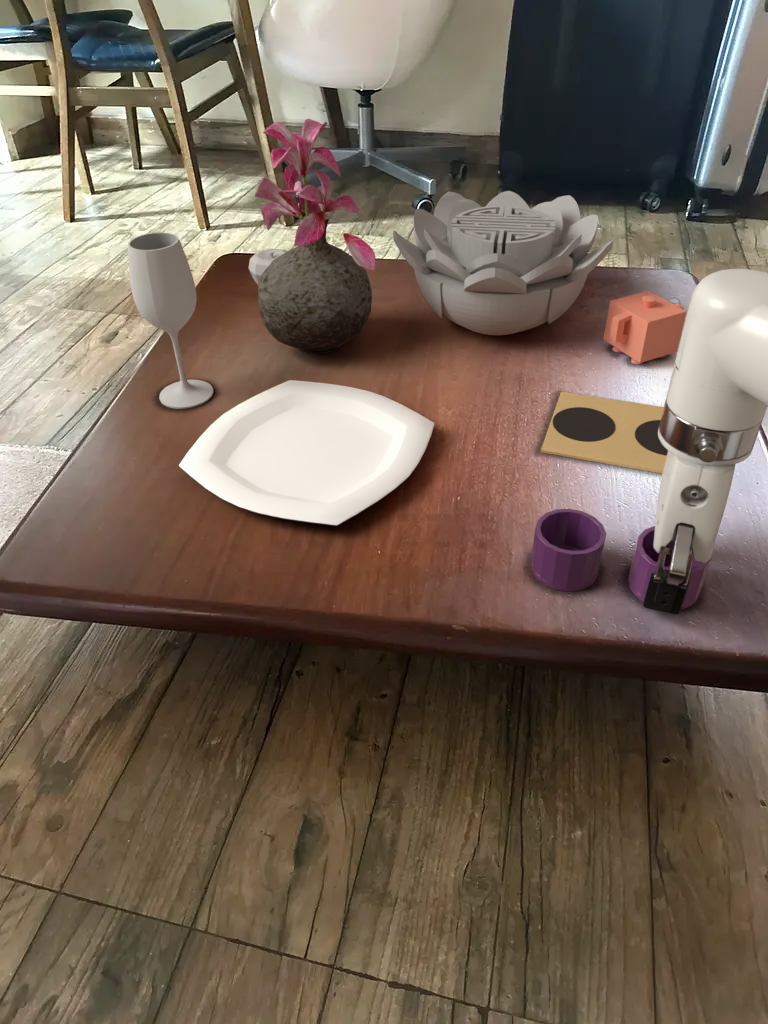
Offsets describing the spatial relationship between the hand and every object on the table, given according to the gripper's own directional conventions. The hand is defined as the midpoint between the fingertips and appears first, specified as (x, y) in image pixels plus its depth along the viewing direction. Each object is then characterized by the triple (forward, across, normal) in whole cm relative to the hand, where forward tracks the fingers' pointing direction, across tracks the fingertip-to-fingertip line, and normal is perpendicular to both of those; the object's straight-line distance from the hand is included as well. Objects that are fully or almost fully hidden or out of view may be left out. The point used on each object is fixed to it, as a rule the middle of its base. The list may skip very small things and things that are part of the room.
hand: (664, 574), depth 75 cm
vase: (+2, +36, +51) cm, 63 cm away
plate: (+2, +9, +41) cm, 42 cm away
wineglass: (+2, +17, +63) cm, 66 cm away
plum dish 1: (+2, -1, +9) cm, 9 cm away
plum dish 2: (+1, 0, 0) cm, 1 cm away
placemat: (+2, +25, +6) cm, 26 cm away
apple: (+2, +51, +66) cm, 84 cm away
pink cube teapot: (+2, +47, +6) cm, 48 cm away
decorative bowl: (+2, +50, +28) cm, 58 cm away
